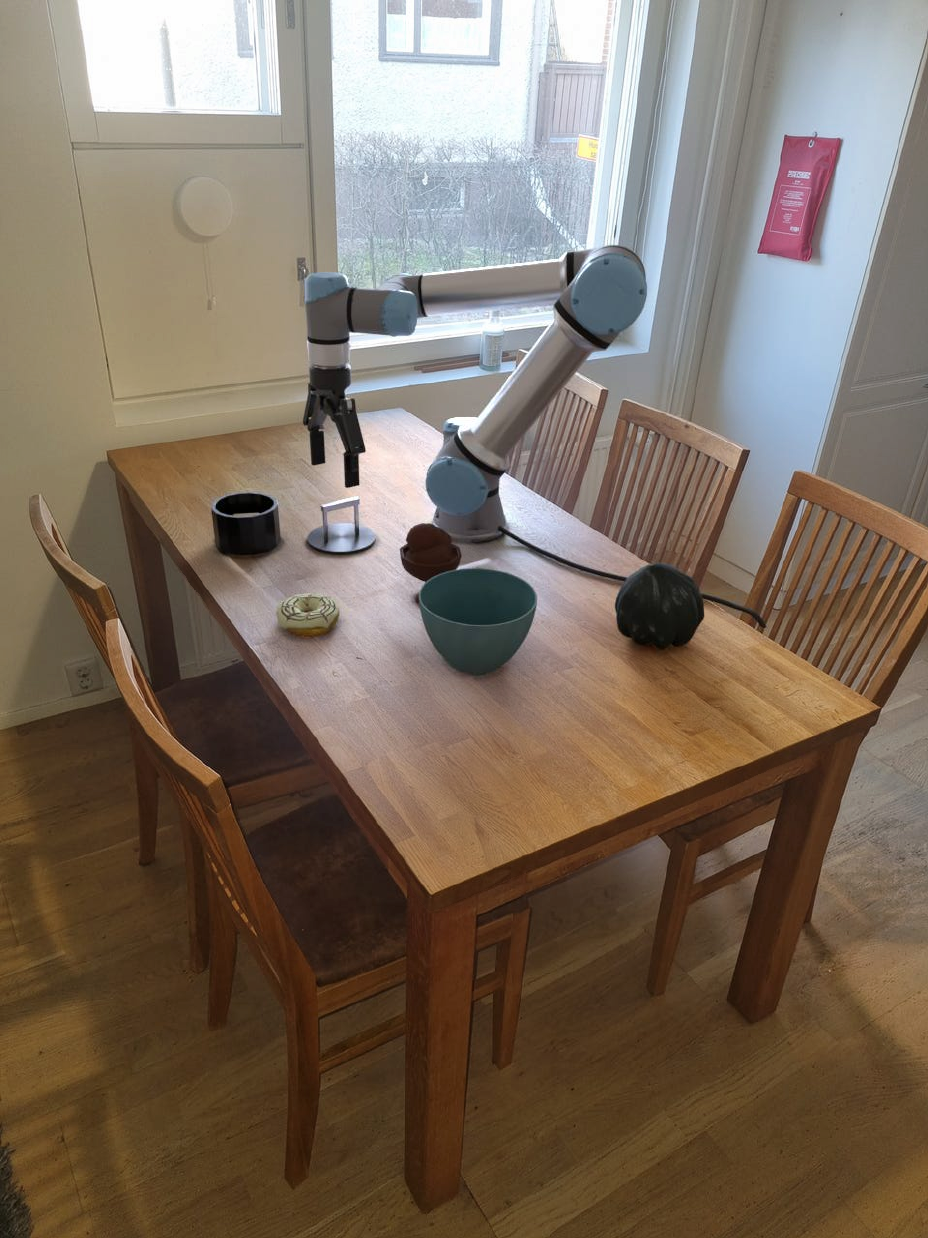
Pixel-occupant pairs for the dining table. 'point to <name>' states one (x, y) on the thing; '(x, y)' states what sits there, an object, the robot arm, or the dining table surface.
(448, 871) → the dining table surface
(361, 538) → the lid
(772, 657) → the dining table surface
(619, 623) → the squash
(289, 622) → the decorated donut
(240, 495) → the pot
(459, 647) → the teal bowl
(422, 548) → the ice cream bowl
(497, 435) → the robot arm
